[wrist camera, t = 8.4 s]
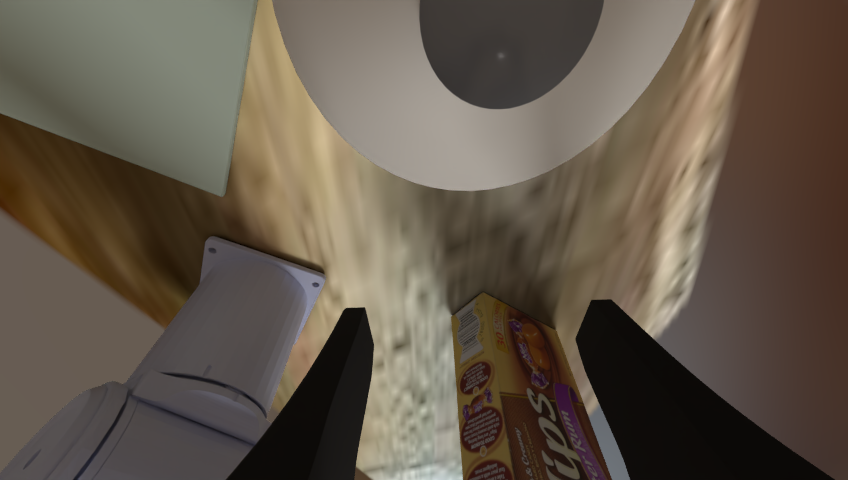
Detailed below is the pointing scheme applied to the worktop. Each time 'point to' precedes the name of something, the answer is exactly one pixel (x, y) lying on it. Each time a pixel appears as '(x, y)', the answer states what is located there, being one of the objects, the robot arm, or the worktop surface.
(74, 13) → the mat
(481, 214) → the worktop surface
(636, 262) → the worktop surface
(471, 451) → the candy box
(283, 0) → the lid
